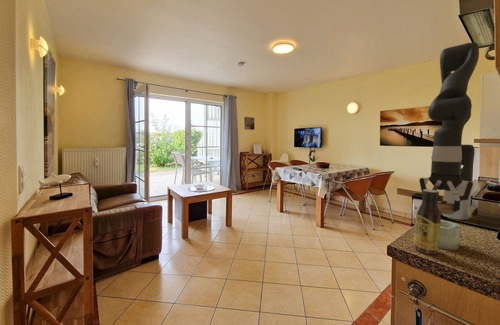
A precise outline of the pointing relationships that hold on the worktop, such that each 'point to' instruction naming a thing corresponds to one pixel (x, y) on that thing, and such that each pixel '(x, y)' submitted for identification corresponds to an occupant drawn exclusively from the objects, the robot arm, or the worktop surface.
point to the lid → (445, 207)
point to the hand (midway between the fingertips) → (443, 209)
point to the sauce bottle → (428, 223)
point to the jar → (449, 235)
